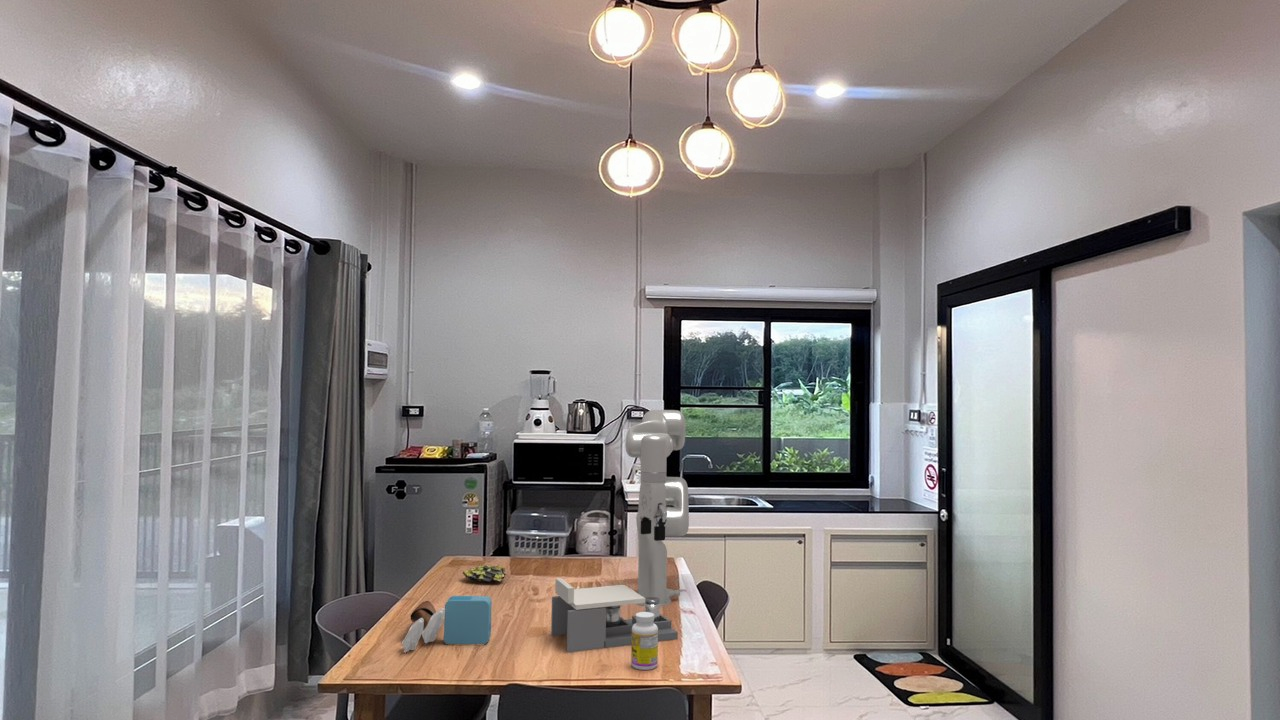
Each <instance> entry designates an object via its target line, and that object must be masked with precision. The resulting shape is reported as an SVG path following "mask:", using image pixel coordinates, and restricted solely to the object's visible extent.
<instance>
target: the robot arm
mask: <svg viewBox="0 0 1280 720" xmlns="http://www.w3.org/2000/svg"><path fill="white" fill-rule="evenodd" d="M686 429H687V423H686V418H685V416H684V413H682V411H680V410H677V409H676V410H675V409H653V410H652V409H651V410H649V411H648V410H647V412H646V413H645V414H644V415H643V416H642V419H641V422H640V423H638V424H634V425H632V426H630V428H629V429H628V430H627V433H626V437H625V443H624V444H625V451H626V454H627V456H629V457H630V458H639V461H640V476H639V477H640V479H639V480H640V481H639V482H640V485H639V486H640V487H639V493H638V494H639V495H638V510H637V513H636V517H635V519H636V522H635V523H636V528H637V540H638V557H637V558H638V561H637V563H638V568H637V569H638V570H637V577H638V579H637V593H638V594H639V595H641V596H643V597H644V598H647V597H656V598H659V599H660V608H661V607H666V606H669V605H671V604H672V597H678V596H679V597H680V595H681V590H680V589H673V588H667V585H668V584H667V582H668V580H667V579H668V578H667V577H668V549H667V547H666V544H665V543H664V541H665V540H666V537H683V536H685V535H686V534H688V531H689V528H690V515H689V509H690V506H689V487H688V483H687V481H686V480H685V479H684V478H683V477H680V476H667V458H668V457H669V456H670V455H671V453H672V452H673V451H679V450H682V449H683V447H684V445H685V443H686V431H687V430H686ZM636 605H637V606H640V607H644V603H638V604H636Z"/></svg>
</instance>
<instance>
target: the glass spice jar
mask: <svg viewBox="0 0 1280 720" xmlns="http://www.w3.org/2000/svg"><path fill="white" fill-rule="evenodd" d="M621 607H622V605H618V606H608V607H606V628H607V627H616V626H620V617H621V609H622V608H621Z"/></svg>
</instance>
